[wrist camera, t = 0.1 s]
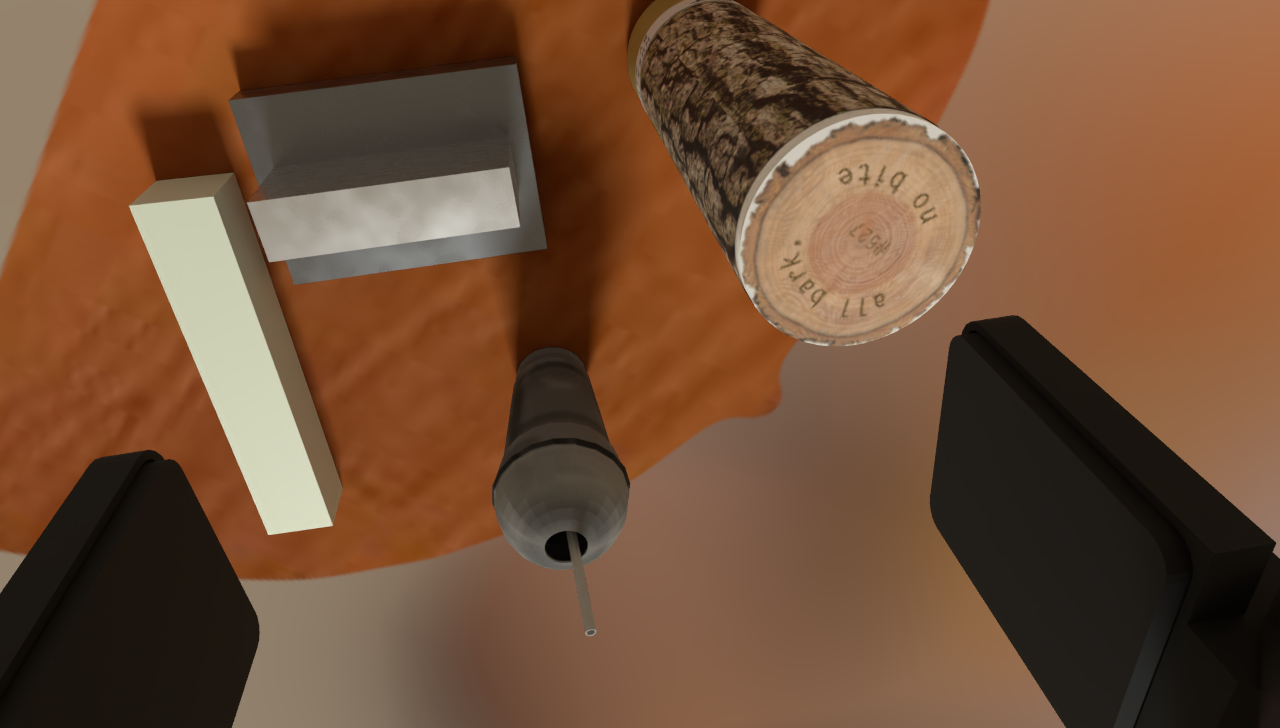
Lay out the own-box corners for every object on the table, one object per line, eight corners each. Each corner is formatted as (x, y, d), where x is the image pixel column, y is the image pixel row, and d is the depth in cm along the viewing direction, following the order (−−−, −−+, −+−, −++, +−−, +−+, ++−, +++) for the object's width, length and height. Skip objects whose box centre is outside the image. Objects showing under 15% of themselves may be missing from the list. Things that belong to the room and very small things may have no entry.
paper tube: (694, 143, 46) (854, 384, 25) (598, 67, 43) (687, 266, 22) (776, 41, 43) (1030, 212, 22) (680, -47, 41) (868, 55, 20)
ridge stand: (239, 90, 41) (194, 129, 35) (516, 55, 42) (517, 87, 36) (302, 269, 46) (272, 328, 40) (545, 234, 47) (551, 288, 41)
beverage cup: (554, 306, 50) (578, 533, 33) (630, 377, 53) (687, 615, 36) (470, 377, 52) (452, 626, 35) (549, 441, 55) (567, 696, 38)
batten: (158, 178, 43) (128, 205, 40) (236, 170, 43) (213, 196, 40) (283, 493, 55) (268, 535, 51) (343, 484, 55) (332, 525, 52)
